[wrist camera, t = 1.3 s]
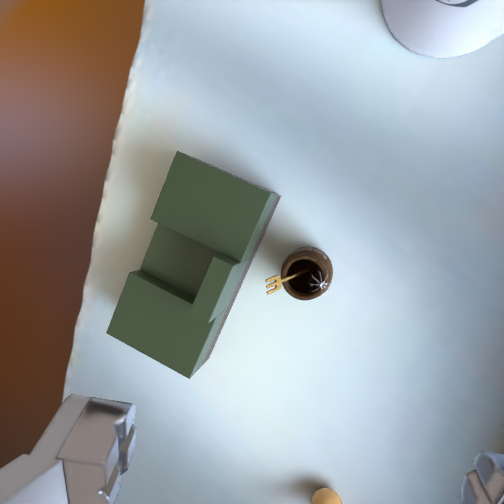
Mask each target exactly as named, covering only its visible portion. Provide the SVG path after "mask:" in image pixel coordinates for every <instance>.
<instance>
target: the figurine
mask: <svg viewBox="0 0 504 504" xmlns="http://www.w3.org/2000/svg"><path fill="white" fill-rule="evenodd" d="M311 504H342V501H341V498H340V497H339V495H338V494H337V493H336V492H335V491H334V490H332V489H330V488H321V489H319V490H317V491H316V492H315V493H314V495H313V497H312V500H311Z"/></svg>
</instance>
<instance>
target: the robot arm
mask: <svg viewBox="0 0 504 504" xmlns="http://www.w3.org/2000/svg"><path fill="white" fill-rule="evenodd" d="M381 1H382V8H383V14H384V17H385V20H386V23H387V25H388V27H389V29H390V31H391V32H392V34H393V35H394V37H395V38H396V39H397V40H398V41H399V42H400V43H401V44H402V45H404V46H405V47H406V48H408V49H409V50H411V51H413V52H415V53H417V54H420V55H423V56H427V57H433V58H451V57H457V56H462V55H465V54H468V53H471V52H473V51H475V50H477V49H479V48H481V47H483V46H484V45H486V44H487V43H489V42H490V41H492V40H493V39H495V38H497V37H498V36H500V35H502V34H504V0H381ZM135 416H136V408H135V404H132V403H126V402H120V401H114V400H108V399H102V398H96V397H89V396H83V395H76V394H71V395H70V396H68V397H67V398H66V399H65V400H64V402H63V403H62V405H61V407H60V408H59V410H58V411H57V413H56V414H55V416H54V417H53V419H52V421H51V422H50V424H49V425H48V427H47V428H46V430H45V432H44V433H43V435H42V436H41V438H40V439H39V441H38V443H37V444H36V446H35V447H34V449H33V450H32V452H31V453H30V455H25V454H22V455H21V456H19V457H18V458H16V459H15V460H13V461H12V462H10V463H8V464H7V465H5V466H4V467H2V468H1V469H0V504H115V502H116V499H117V496H118V494H119V491H120V476H121V475H122V474H123V473H124V472H126V471H127V470H128V467H129V464H130V462H131V459H132V455H133V451H134V447H135V442H136V427H135V426H134V425H133V421H134V418H135ZM473 463H474V465H475V467H476V469H474V470H473V471H471V472H469V473H467V474H466V475H465V477H464V479H463V482H462V485H461V498H462V503H463V504H504V454H497V453H489V452H481V453H479V454H477V455H476V457H475V459H474V461H473Z"/></svg>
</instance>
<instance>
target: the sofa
mask: <svg viewBox="0 0 504 504" xmlns="http://www.w3.org/2000/svg"><path fill="white" fill-rule="evenodd" d="M280 197H281V196H279V195H277V194H275V193H273V192H270V191H268V190H266V189H264V188H261V187H259V186H257V185H255V184H252V183H250V182H248V181H246V180H243V179H241V178H239V177H237V176H234V175H232V174H230V173H228V172H225V171H223V170H221V169H219V168H216V167H214V166H212V165H210V164H207V163H205V162H203V161H201V160H199V159H196V158H194V157H191V156H189V155H186V154H184V153H181V152H179V151H177V152H176V155H175V158H174V160H173V163H172V165H171V168H170V170H169V173H168V176H167V178H166V181H165V183H164V186H163V188H162V191H161V194H160V196H159V199H158V201H157V204H156V206H155V209H154V212H153V214H152V217H151V219H152V220H154V221H156V222H158V225H157V228H156V230H155V233H154V235H153V238H152V241H151V243H150V246H149V248H148V251H147V253H146V256H145V258H144V261H143V263H142V266H141V268H140V269H141V270H137V271H133V272H130V273H129V276H128V278H127V281H126V284H125V286H124V289H123V291H122V294H121V296H120V299H119V302H118V304H117V307H116V309H115V312H114V314H113V317H112V320H111V322H110V325H109V327H108V330H107V332H106V333H107V334H109V335H111V336H113V337H114V338H116V339H118V340H120V341H122V342H124V343H125V344H127V345H129V346H131V347H133V348H134V349H136V350H138V351H140V352H142V353H143V354H145V355H147V356H149V357H151V358H153V359H154V360H156V361H158V362H160V363H162V364H163V365H165V366H167V367H169V368H171V369H173V370H174V371H176V372H178V373H180V374H182V375H183V376H185V377H187V378H189V379H190V378H191V377H192V376H193V375H194V373H195V372H196V371H197V370H198V369H199V368H200V367H201V366H202V365H203V364H204V363H205V362H206V361H207V360H208V359H209V356H210V354H211V352H212V350H213V347H214V345H215V343H216V341H217V338H218V336H219V334H220V332H221V329H222V327H223V325H224V323H225V320H226V318H227V316H228V314H229V312H230V309H231V307H232V305H233V303H234V300H235V298H236V296H237V294H238V291H239V289H240V287H241V285H242V282H243V280H244V278H245V276H246V273H247V271H248V269H249V267H250V264H251V262H252V260H253V258H254V255H255V253H256V251H257V249H258V246H259V244H260V242H261V240H262V237H263V235H264V233H265V231H266V228H267V226H268V224H269V222H270V219H271V217H272V215H273V213H274V210H275V208H276V206H277V204H278V201H279V199H280Z"/></svg>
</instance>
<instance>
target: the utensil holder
mask: <svg viewBox="0 0 504 504" xmlns="http://www.w3.org/2000/svg"><path fill="white" fill-rule="evenodd" d="M332 275H333V268H332V264H331V261H330V259H329V258H328V256H327V255H326V254H325V253H324V252H322V251H321V250H319V249H317V248H313V247H304V248H300V249H298V250H296V251H294V252H293V253H291V254H290V255H289V256H288V257H287V259H286V260H285V262H284V263H283V266H282V270H281V278H280V276H279V275H276V276H273V277H271V278H268V279H266V282H269V281H272V280H275V281H274V282H273V283H271V284H269V285H267V286H266V288H270V287H272V286H275V288H274V289H271V290H269V291H267V295H268V294H270V293H273V292H275V291H277V290H280V288H281V283H282V284H283V286H284V288H285V290H286V291H287V293H288V294H290V295H291V296H292V297H294V298H296V299H299V300H311V299H314V298H317V297H319V296H320V295H322V294H323V293H324V292H325V291H326V290H328V287H329V285H330V283H331V280H332Z"/></svg>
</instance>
